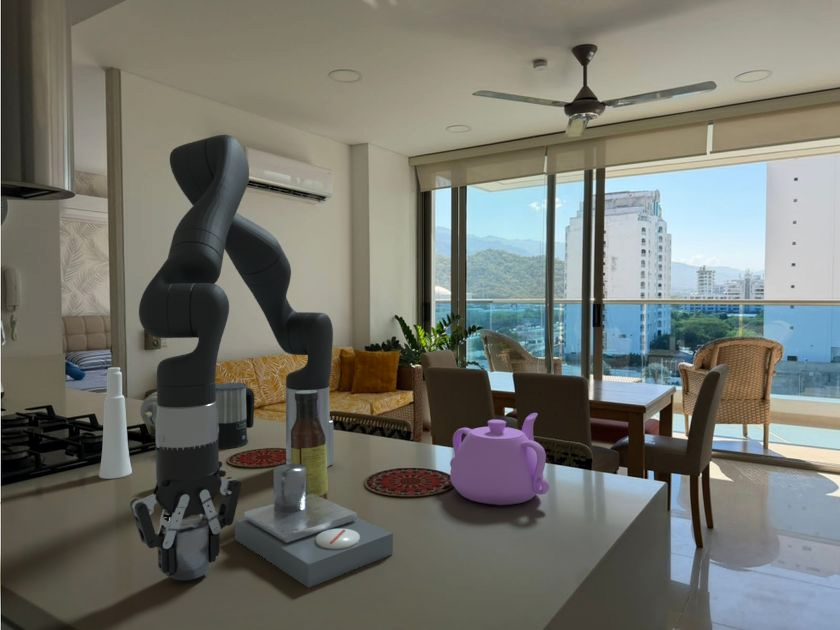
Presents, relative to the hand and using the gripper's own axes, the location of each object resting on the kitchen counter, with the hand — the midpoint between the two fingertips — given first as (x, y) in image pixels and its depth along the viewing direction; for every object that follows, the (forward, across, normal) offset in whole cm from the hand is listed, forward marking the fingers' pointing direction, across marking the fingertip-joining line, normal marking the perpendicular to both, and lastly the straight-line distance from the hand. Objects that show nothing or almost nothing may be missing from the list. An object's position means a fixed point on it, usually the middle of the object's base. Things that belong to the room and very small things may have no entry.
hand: (189, 566), depth 76 cm
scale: (+2, -17, +3) cm, 17 cm away
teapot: (+2, -57, +7) cm, 57 cm away
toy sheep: (+2, -28, -87) cm, 91 cm away
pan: (-2, -17, 0) cm, 17 cm away
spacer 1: (+1, 0, 0) cm, 1 cm away
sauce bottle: (+2, -27, -13) cm, 30 cm away
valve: (+2, -14, -34) cm, 37 cm away
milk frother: (+2, -34, -66) cm, 74 cm away
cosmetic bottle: (+2, -7, -54) cm, 54 cm away
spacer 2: (-3, -17, -3) cm, 17 cm away
